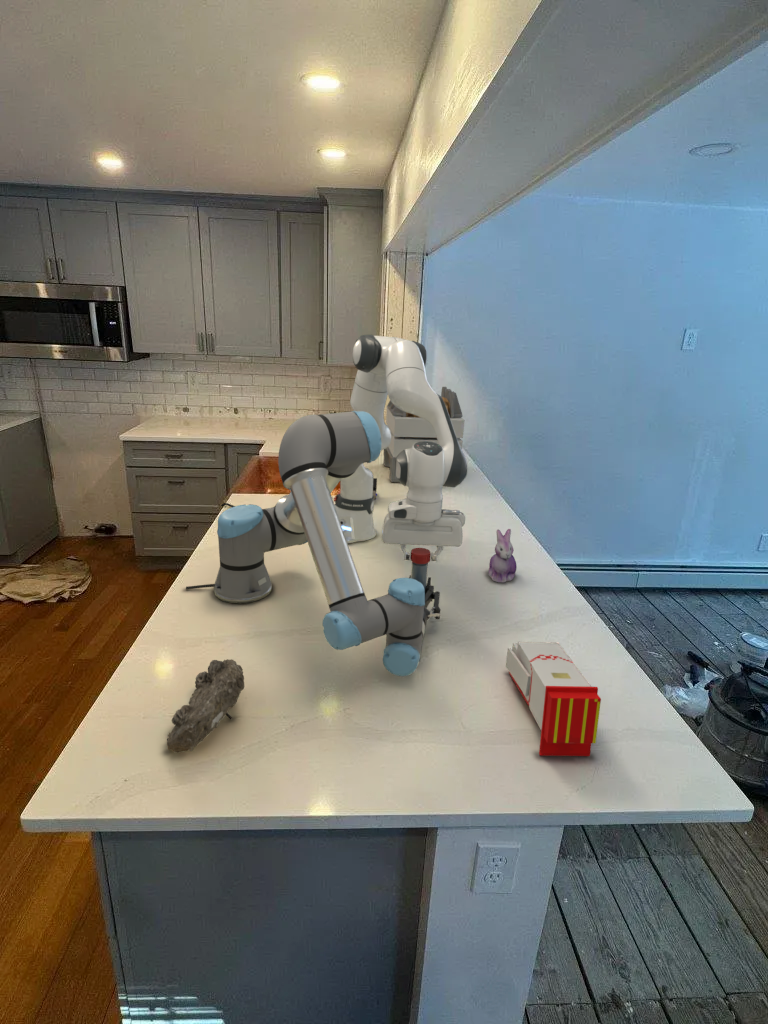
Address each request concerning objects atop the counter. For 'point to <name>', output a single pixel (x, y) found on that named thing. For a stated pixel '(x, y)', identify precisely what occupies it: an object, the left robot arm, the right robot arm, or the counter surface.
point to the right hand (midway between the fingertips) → (420, 559)
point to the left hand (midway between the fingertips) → (420, 580)
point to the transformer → (417, 428)
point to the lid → (420, 555)
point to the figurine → (502, 559)
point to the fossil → (206, 705)
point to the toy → (556, 697)
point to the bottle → (420, 573)
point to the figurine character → (374, 487)
